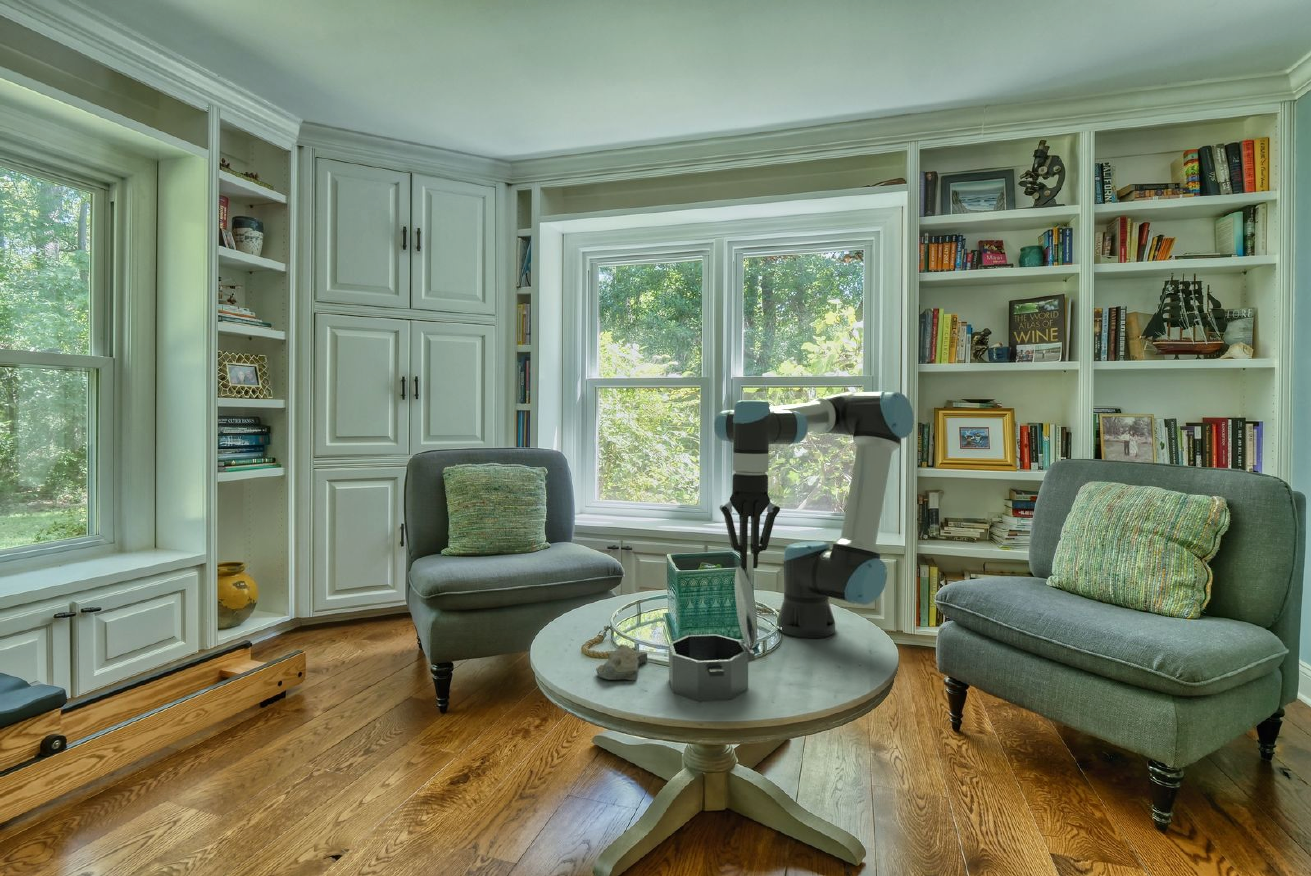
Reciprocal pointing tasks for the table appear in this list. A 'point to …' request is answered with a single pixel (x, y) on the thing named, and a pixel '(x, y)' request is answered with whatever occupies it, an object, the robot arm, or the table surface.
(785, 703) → the table surface
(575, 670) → the table surface
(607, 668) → the stone
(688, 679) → the pot
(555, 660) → the table surface
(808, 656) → the table surface
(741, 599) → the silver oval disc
